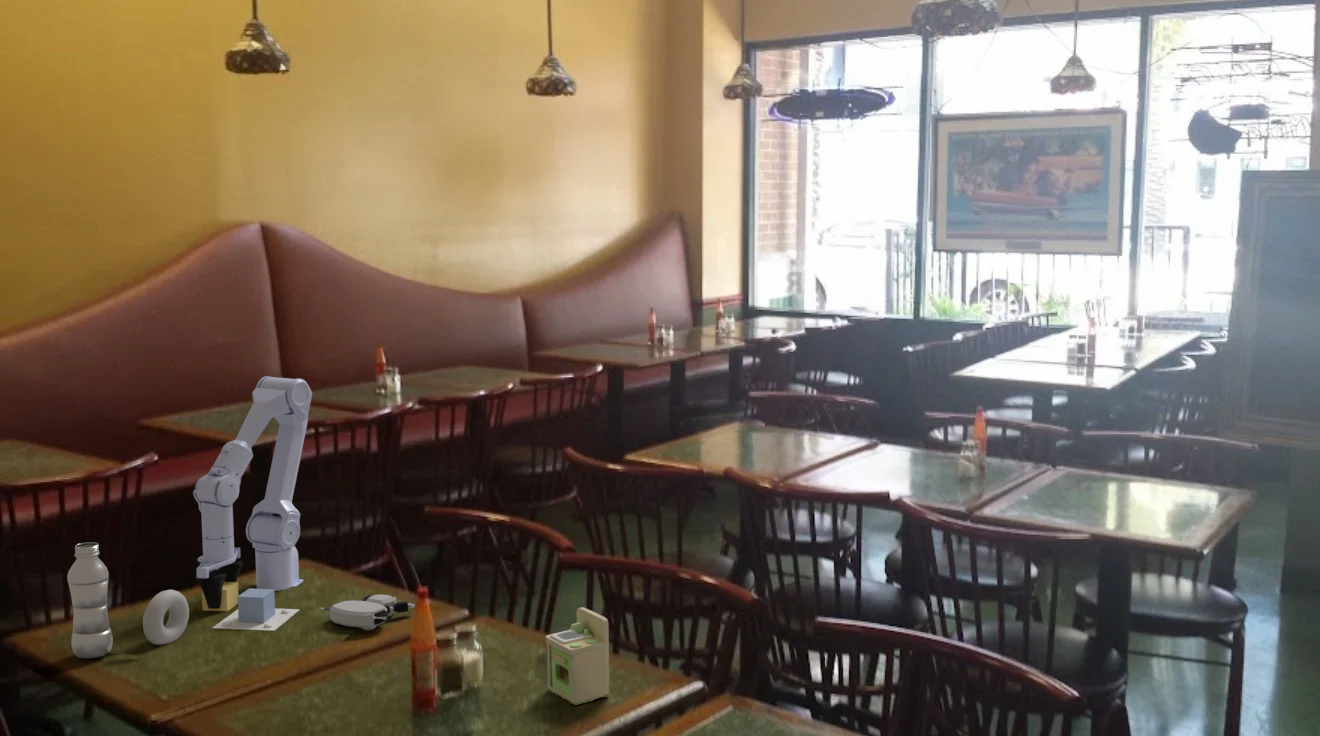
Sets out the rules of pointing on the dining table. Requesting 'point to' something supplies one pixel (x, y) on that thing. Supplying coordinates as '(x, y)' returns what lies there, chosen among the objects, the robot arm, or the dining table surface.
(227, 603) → the mustard block
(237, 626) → the plate
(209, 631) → the dining table surface
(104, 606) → the plastic bottle
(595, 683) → the toy sink
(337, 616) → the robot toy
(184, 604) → the donut
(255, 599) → the slate block
